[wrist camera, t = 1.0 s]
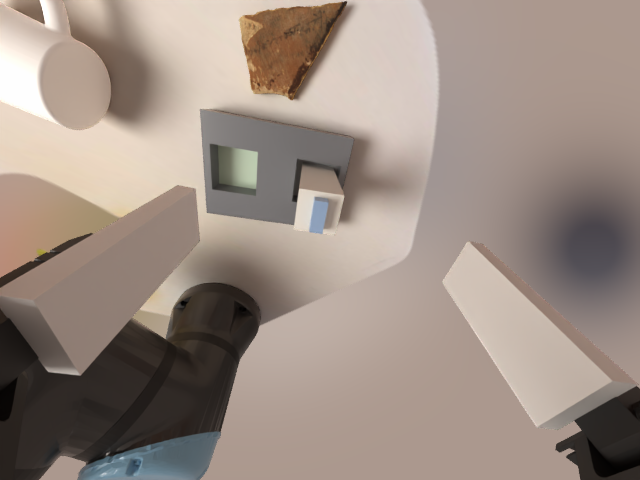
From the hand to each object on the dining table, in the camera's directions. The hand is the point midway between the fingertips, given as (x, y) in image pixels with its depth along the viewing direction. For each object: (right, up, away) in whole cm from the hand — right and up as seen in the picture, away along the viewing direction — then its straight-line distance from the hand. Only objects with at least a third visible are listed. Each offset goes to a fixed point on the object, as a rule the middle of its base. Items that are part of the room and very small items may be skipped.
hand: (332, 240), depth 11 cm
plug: (-1, +8, +20) cm, 22 cm away
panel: (-6, +9, +20) cm, 22 cm away
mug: (-28, +20, +13) cm, 37 cm away
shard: (-5, +22, +13) cm, 26 cm away
